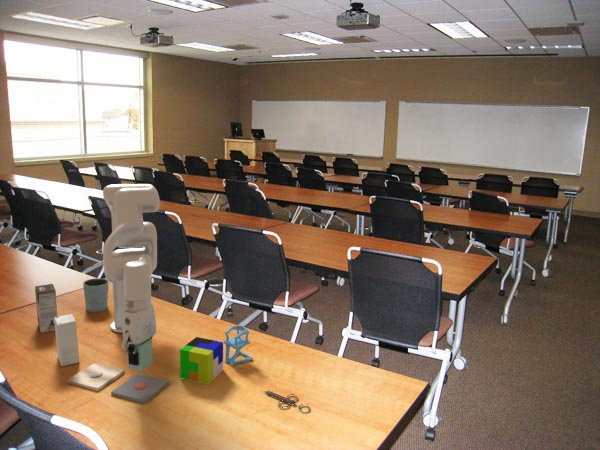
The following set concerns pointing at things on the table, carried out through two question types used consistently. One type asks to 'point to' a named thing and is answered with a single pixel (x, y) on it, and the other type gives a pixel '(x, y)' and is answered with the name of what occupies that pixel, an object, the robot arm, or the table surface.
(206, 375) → the puzzle toy
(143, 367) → the teal block
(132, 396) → the slate mat
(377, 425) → the table surface
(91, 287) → the teal cup
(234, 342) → the chair
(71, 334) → the skincare box
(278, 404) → the syringe
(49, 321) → the coffee box
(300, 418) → the table surface
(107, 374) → the birch pad
